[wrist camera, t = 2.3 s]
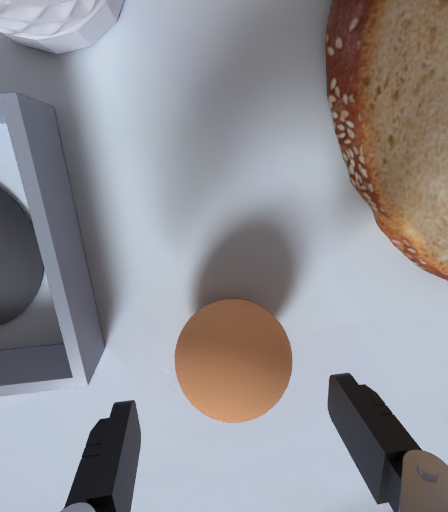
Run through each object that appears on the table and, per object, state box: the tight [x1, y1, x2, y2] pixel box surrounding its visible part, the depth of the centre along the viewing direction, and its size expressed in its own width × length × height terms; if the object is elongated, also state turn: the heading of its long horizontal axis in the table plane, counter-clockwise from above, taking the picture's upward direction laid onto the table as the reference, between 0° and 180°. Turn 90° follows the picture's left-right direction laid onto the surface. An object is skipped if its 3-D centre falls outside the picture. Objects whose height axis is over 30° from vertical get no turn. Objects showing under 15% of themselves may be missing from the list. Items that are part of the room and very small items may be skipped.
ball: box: [175, 299, 292, 423], centre depth 16 cm, size 6×6×6 cm
